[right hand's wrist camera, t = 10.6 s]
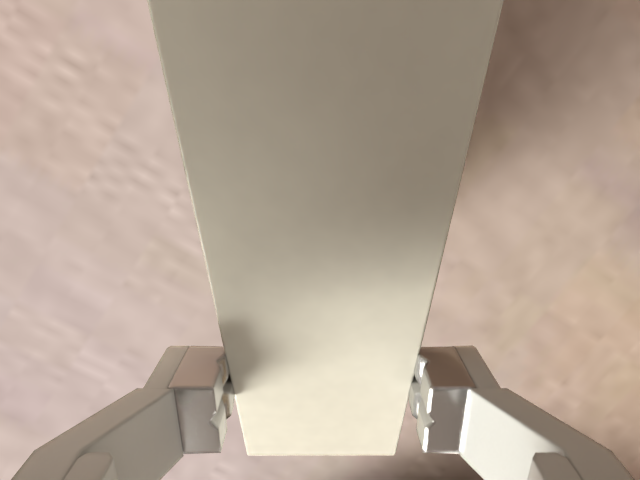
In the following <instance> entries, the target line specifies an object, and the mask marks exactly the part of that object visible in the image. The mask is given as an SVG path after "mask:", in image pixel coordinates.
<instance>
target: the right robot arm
mask: <svg viewBox="0 0 640 480" xmlns="http://www.w3.org/2000/svg"><path fill="white" fill-rule="evenodd" d="M234 397H235V393H234V388H233V384H232V382H231V378H230V370H229V365H228V361H227V357H226V354H225V351H224V347H220V346H170V347H168V348H167V349H166V351H165V353H164V354H163V356H162V358H161V359H160V361H159V363H158V364H157V366H156V368H155V369H154V371H153V373H152V374H151V376H150V378H149V379H148V381H147V383H146V384H145V386H144V388H137V389H135V390H133V391H132V392H130V393H129V394H127V395H125V396H124V397H122V398H120V399H119V400H117V401H115V402H114V403H112V404H110V405H109V406H107V407H105V408H104V409H102V410H100V411H99V412H97V413H95V414H94V415H92V416H91V417H89V418H87V419H86V420H84V421H82V422H81V423H79V424H77V425H76V426H74V427H72V428H71V429H69V430H67V431H66V432H64V433H62V434H61V435H59V436H58V437H56V438H54V439H53V440H51V441H49V442H48V443H46V444H44V445H43V446H41V447H39V448H38V449H36V450H34V452H33V453H32V454H31V455H30V457H29V458H28V459H27V460H26V462H25V463H24V464H23V465H22V467H21V468H20V469H19V470H18V472H17V473H16V474H15V475H14V477H13V478H12V479H11V480H160V479H161V478H162V477H163V476H164V475H165V474H166V473H167V472H168V471H169V470H170V469H171V468H172V467H173V466H174V465H175V464H176V463H177V462H178V461H179V460H180V459H181V458H182V457H183V454H191V453H221V450H222V446H223V443H224V439H225V435H226V432H227V423H226V419H227V418H228V417H230V416H231V414H232V410H233V405H234ZM409 403H410V409H411V412H412V415H413V416H414V417H415V418H416V419H417V429H416V430H417V433H418V437H419V440H420V444H421V447H422V450H423V453H452V454H460V456H461V457H462V458H463V459H464V460H465V461H466V462H467V463H468V464H469V465H470V466H471V467H472V468H473V469H474V470H475V471H476V472H477V473H478V474H479V475H480V476H481V477H482V478H483V479H484V480H634V479H633V477H632V476H631V475H630V474H629V472H628V471H627V470H626V469H625V467H624V466H623V465H622V464H621V462H620V461H619V460H618V459H617V457H616V456H615V455H614V454H613V452H612V451H610V450H609V449H607V448H605V447H604V446H602V445H600V444H599V443H597V442H595V441H594V440H592V439H590V438H589V437H587V436H585V435H584V434H582V433H580V432H579V431H577V430H575V429H574V428H572V427H570V426H569V425H567V424H565V423H564V422H562V421H560V420H559V419H557V418H555V417H554V416H552V415H550V414H549V413H547V412H545V411H544V410H542V409H541V408H539V407H537V406H536V405H534V404H532V403H531V402H529V401H527V400H526V399H524V398H522V397H521V396H519V395H517V394H516V393H514V392H512V391H511V390H509V389H507V388H500V386H499V384H498V383H497V381H496V380H495V378H494V376H493V375H492V373H491V371H490V370H489V368H488V367H487V365H486V363H485V362H484V360H483V359H482V357H481V355H480V354H479V352H478V350H477V349H476V347H474V346H452V347H421V348H420V353H419V354H418V355H417V359H416V363H415V367H414V378H413V381H412V382H411V385H410V390H409Z"/></svg>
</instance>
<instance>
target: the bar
mask: <svg viewBox="0 0 640 480" xmlns="http://www.w3.org/2000/svg"><path fill="white" fill-rule="evenodd" d="M503 1H504V0H147V2H148V7H149V11H150V16H151V20H152V25H153V29H154V34H155V38H156V43H157V47H158V52H159V56H160V61H161V66H162V70H163V75H164V79H165V84H166V88H167V93H168V97H169V102H170V106H171V111H172V115H173V120H174V124H175V129H176V133H177V138H178V142H179V147H180V151H181V156H182V161H183V165H184V170H185V174H186V179H187V183H188V188H189V192H190V197H191V201H192V206H193V210H194V215H195V219H196V224H197V228H198V233H199V237H200V242H201V247H202V251H203V256H204V260H205V265H206V269H207V274H208V278H209V283H210V287H211V292H212V296H213V301H214V305H215V310H216V314H217V319H218V323H219V328H220V333H221V337H222V342H223V346H224V351H225V354H226V357H227V361H228V365H229V370H230V378H231V382H232V384H233V388H234V393H235V400H236V405H237V409H238V414H239V419H240V423H241V428H242V432H243V437H244V441H245V446H246V450H247V454H248V455H249V456H291V455H395V453H396V449H397V445H398V440H399V436H400V432H401V428H402V424H403V419H404V415H405V411H406V407H407V403H408V399H409V390H410V385H411V382H412V381H413V378H414V367H415V363H416V359H417V355H418V354H419V353H420V348H421V344H422V340H423V336H424V332H425V327H426V323H427V319H428V315H429V311H430V307H431V302H432V298H433V294H434V290H435V286H436V282H437V277H438V273H439V269H440V265H441V261H442V256H443V252H444V248H445V244H446V240H447V236H448V231H449V227H450V223H451V219H452V215H453V210H454V206H455V202H456V198H457V194H458V190H459V185H460V181H461V177H462V173H463V169H464V164H465V160H466V156H467V152H468V148H469V144H470V139H471V135H472V131H473V127H474V123H475V119H476V114H477V110H478V106H479V102H480V98H481V93H482V89H483V85H484V81H485V77H486V73H487V68H488V64H489V60H490V56H491V52H492V47H493V43H494V39H495V35H496V31H497V27H498V22H499V18H500V14H501V10H502V6H503Z"/></svg>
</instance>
